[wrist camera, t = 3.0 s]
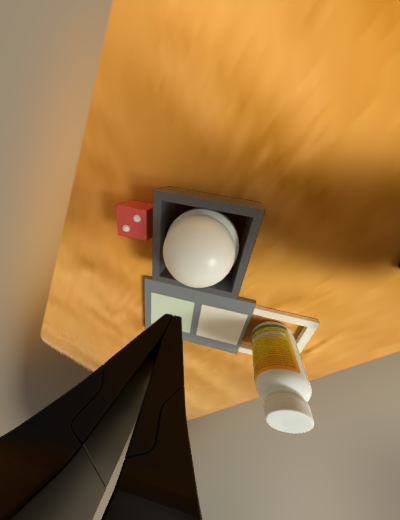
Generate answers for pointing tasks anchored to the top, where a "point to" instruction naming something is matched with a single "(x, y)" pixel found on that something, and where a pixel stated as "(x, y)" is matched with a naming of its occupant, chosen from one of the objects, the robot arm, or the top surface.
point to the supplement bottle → (281, 378)
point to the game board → (214, 316)
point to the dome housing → (162, 216)
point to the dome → (201, 247)
